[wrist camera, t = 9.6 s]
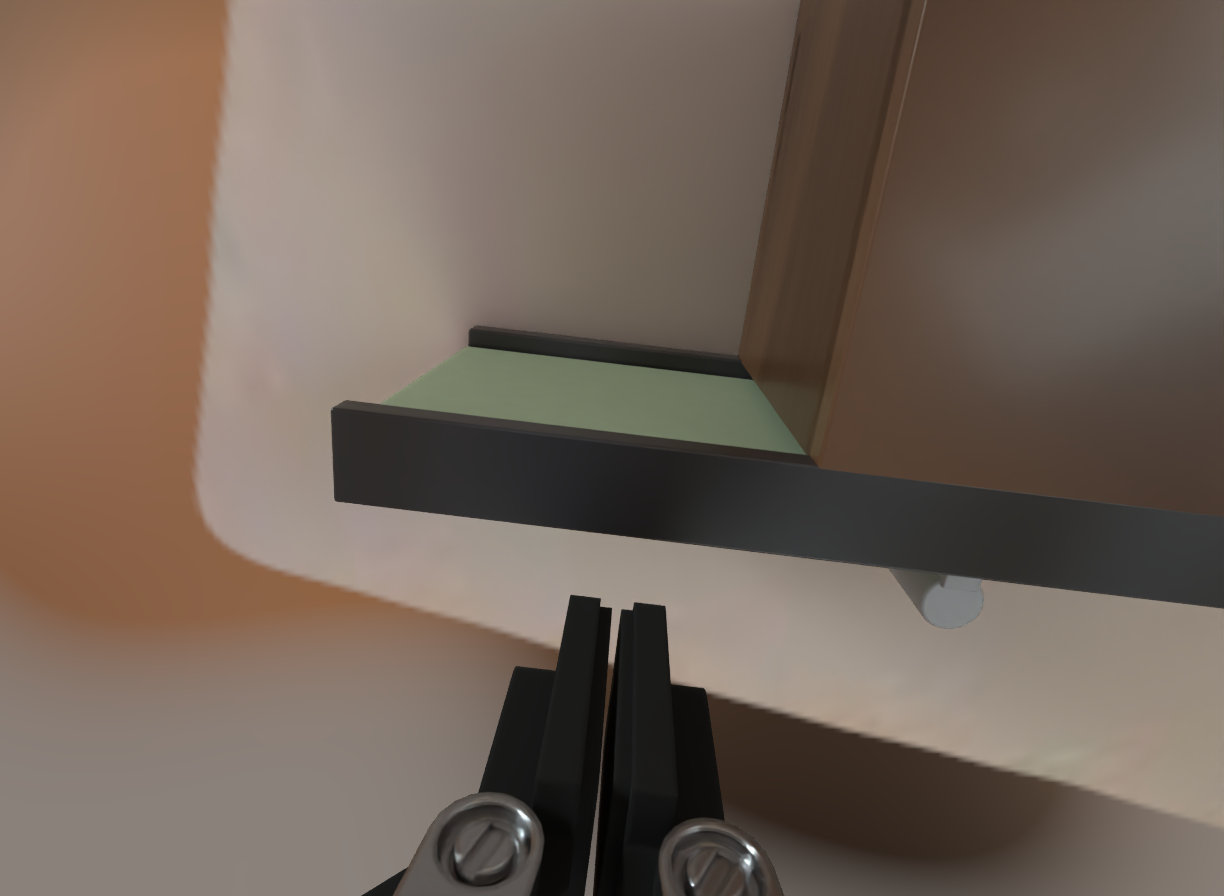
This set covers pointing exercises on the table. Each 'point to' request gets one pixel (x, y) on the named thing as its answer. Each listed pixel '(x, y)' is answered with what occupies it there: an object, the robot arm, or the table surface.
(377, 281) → the table surface
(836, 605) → the table surface
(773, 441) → the pale green block
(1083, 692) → the table surface
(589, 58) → the table surface
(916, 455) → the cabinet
